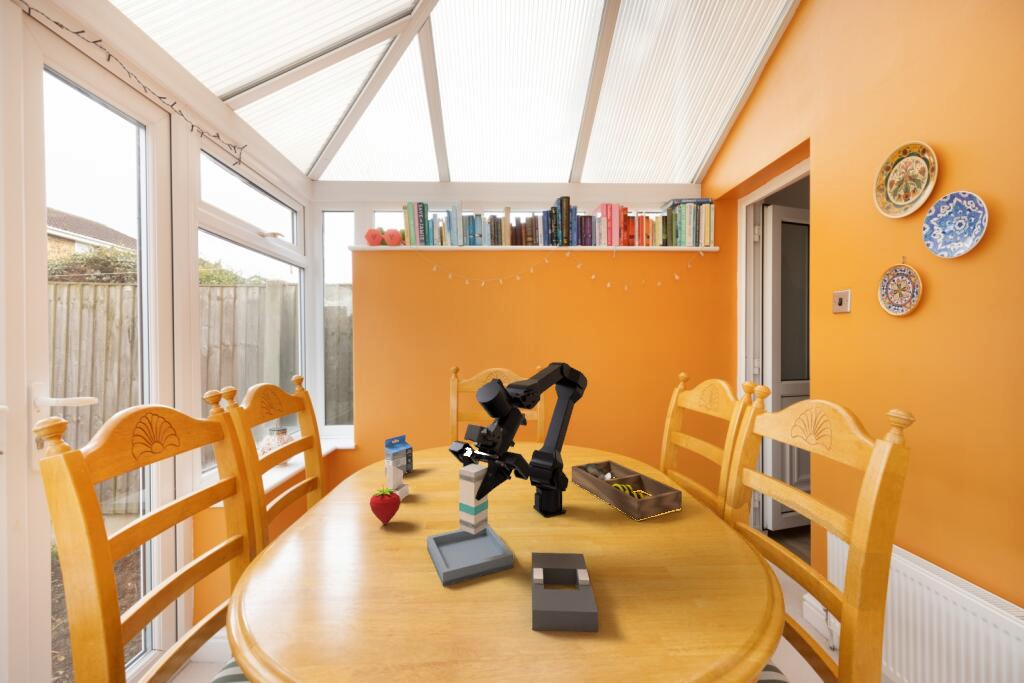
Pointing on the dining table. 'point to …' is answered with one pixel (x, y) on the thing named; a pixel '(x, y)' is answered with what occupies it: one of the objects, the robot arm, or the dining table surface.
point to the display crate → (641, 508)
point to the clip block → (562, 594)
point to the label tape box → (398, 454)
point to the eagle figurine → (597, 472)
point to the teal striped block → (472, 499)
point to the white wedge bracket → (397, 481)
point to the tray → (468, 554)
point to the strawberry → (385, 504)
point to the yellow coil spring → (628, 490)
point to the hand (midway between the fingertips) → (468, 497)
